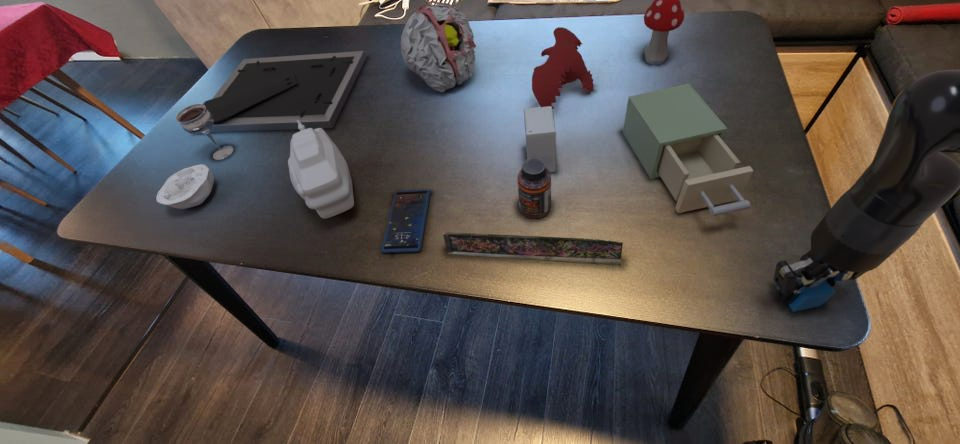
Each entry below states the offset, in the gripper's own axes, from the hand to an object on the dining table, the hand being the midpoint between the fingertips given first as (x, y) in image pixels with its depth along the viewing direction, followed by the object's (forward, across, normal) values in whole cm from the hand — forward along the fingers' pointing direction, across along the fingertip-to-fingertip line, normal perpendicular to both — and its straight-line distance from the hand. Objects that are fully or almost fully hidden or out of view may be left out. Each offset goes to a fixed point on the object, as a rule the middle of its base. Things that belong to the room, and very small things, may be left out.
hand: (799, 294), depth 63 cm
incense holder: (+1, -37, +17) cm, 41 cm away
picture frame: (+1, -89, +86) cm, 124 cm away
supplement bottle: (+1, -33, +28) cm, 43 cm away
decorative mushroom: (+1, +7, +66) cm, 66 cm away
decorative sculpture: (+1, -45, +78) cm, 90 cm away
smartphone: (+1, -58, +31) cm, 66 cm away
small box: (+1, -29, +40) cm, 49 cm away
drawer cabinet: (0, -4, +35) cm, 36 cm away
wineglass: (+1, -102, +66) cm, 121 cm away
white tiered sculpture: (+1, -73, +42) cm, 84 cm away
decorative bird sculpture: (+1, -17, +62) cm, 64 cm away
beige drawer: (0, -4, +23) cm, 23 cm away
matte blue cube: (0, 0, 0) cm, 0 cm away
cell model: (+1, -105, +51) cm, 117 cm away
